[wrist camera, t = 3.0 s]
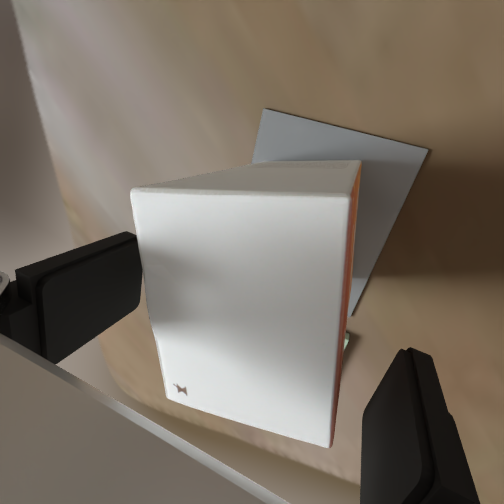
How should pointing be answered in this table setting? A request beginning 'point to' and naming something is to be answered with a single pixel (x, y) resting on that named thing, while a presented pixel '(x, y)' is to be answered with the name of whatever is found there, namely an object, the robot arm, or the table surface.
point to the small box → (253, 289)
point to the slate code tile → (371, 179)
